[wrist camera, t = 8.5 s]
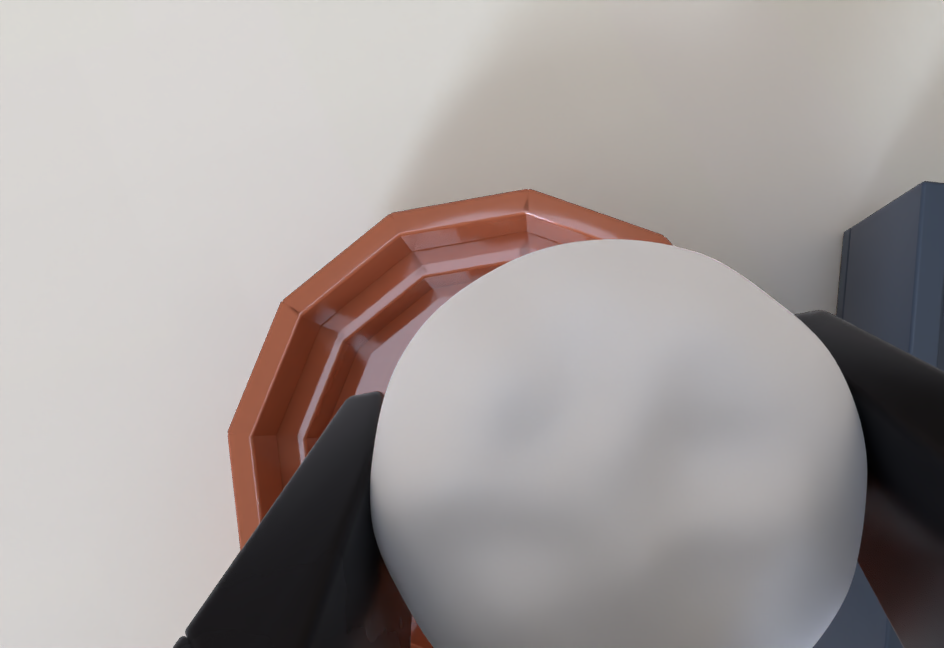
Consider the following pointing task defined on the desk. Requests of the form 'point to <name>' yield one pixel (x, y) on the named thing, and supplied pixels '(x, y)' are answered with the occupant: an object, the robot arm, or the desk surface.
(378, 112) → the desk surface
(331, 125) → the desk surface
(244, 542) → the bowl
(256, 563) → the robot arm
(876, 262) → the bin
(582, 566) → the milkshake
